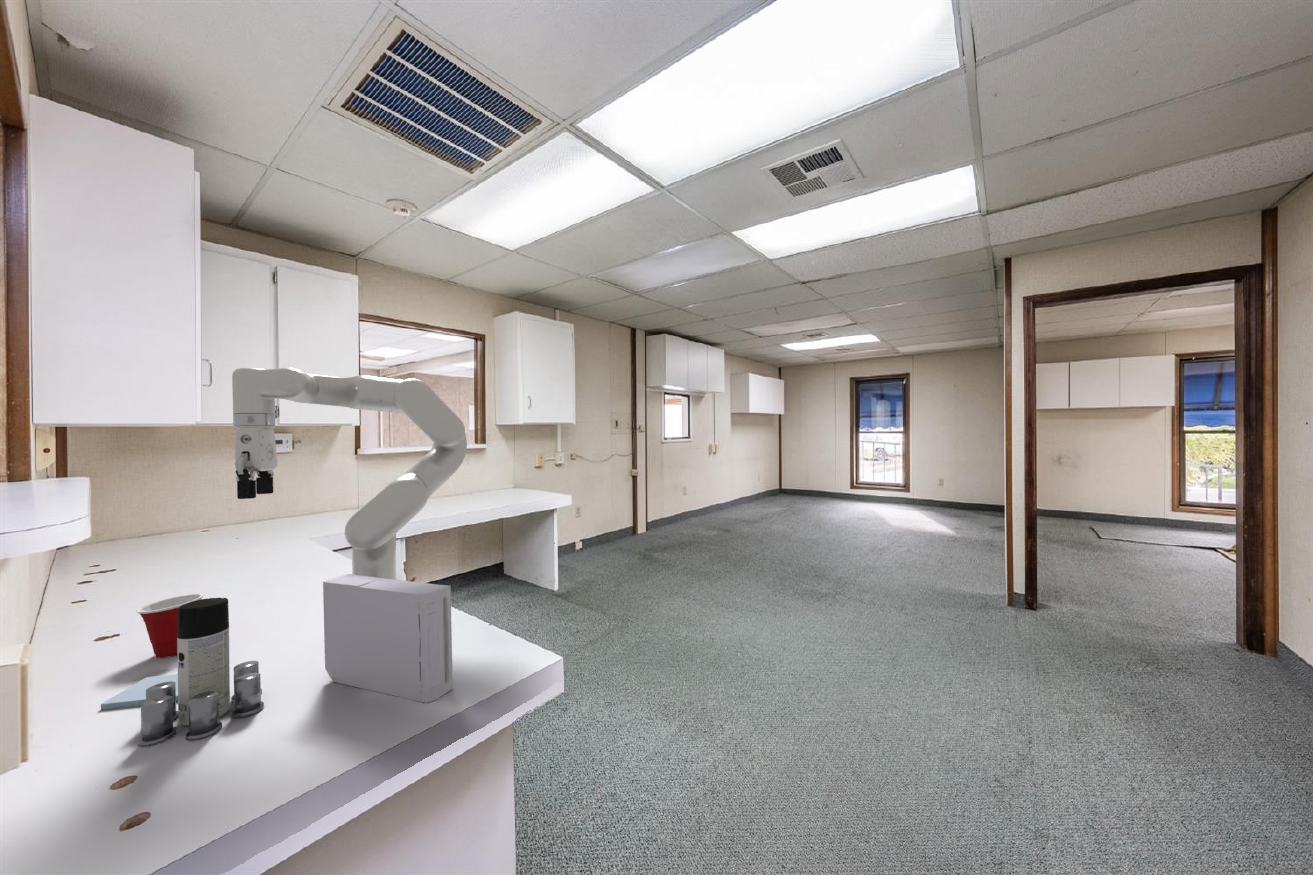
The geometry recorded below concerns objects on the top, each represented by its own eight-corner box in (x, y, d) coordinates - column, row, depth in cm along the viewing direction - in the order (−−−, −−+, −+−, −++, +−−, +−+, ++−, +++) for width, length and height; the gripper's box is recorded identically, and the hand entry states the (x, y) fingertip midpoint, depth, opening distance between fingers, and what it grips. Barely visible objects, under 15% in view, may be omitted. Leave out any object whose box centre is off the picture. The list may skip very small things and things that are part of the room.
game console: (429, 705, 87) (427, 595, 87) (323, 681, 97) (321, 581, 96) (453, 689, 93) (451, 585, 92) (351, 667, 102) (349, 573, 102)
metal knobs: (286, 687, 94) (285, 656, 94) (233, 735, 79) (232, 699, 79) (181, 698, 91) (180, 667, 91) (105, 752, 76) (104, 713, 75)
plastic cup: (155, 647, 114) (153, 596, 114) (213, 639, 118) (212, 590, 118) (125, 667, 104) (123, 612, 104) (190, 658, 108) (188, 604, 108)
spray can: (201, 706, 88) (198, 597, 88) (240, 704, 89) (238, 595, 88) (167, 728, 81) (164, 610, 81) (210, 726, 82) (207, 608, 82)
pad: (221, 674, 100) (221, 669, 100) (185, 700, 90) (185, 694, 90) (146, 682, 97) (146, 677, 97) (100, 709, 88) (100, 704, 88)
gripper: (258, 420, 105) (260, 499, 105) (287, 423, 121) (289, 491, 121) (215, 421, 102) (217, 501, 103) (251, 423, 119) (252, 493, 119)
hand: (256, 496), depth 112 cm, fingers open, 9 cm apart
